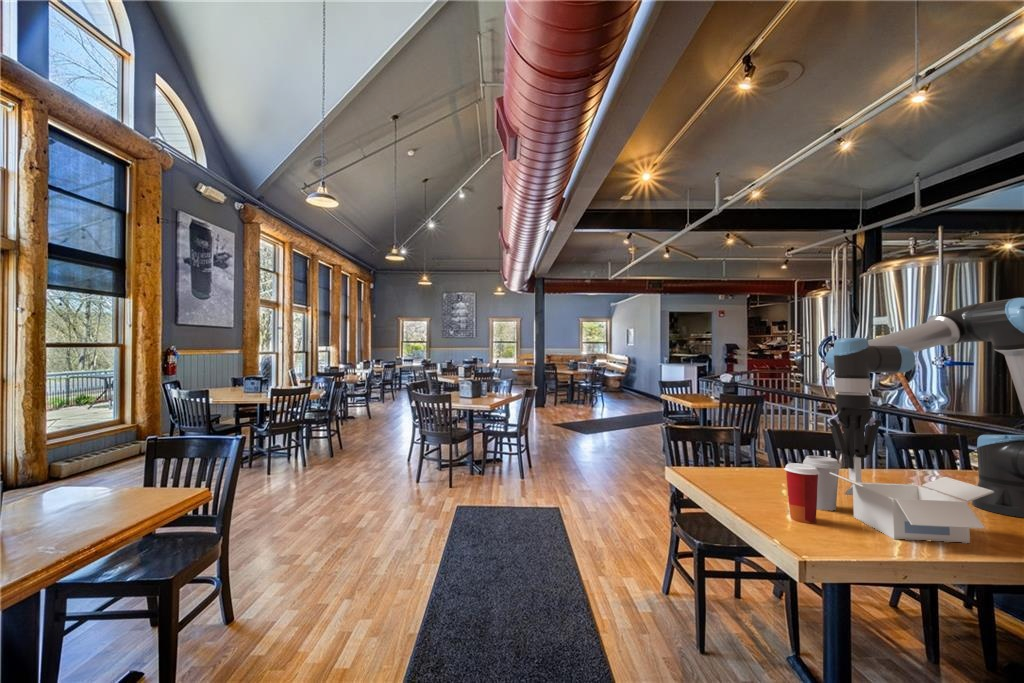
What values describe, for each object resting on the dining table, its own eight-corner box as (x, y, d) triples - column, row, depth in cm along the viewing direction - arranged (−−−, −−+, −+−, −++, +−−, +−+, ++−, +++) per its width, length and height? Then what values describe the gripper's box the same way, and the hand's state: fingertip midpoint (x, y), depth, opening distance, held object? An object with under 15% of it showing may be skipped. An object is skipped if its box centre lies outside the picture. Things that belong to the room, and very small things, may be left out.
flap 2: (921, 485, 119) (922, 486, 119) (967, 500, 105) (968, 502, 105) (944, 476, 118) (945, 477, 118) (993, 490, 105) (994, 492, 105)
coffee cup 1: (817, 517, 121) (815, 464, 122) (824, 526, 114) (822, 470, 115) (782, 512, 125) (781, 461, 126) (787, 521, 118) (786, 467, 118)
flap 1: (830, 472, 122) (829, 473, 122) (863, 485, 108) (862, 486, 108) (852, 482, 121) (852, 483, 121) (888, 496, 108) (888, 498, 108)
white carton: (905, 515, 124) (904, 480, 124) (989, 552, 99) (987, 508, 100) (842, 512, 126) (841, 477, 126) (909, 547, 101) (908, 504, 102)
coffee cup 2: (832, 503, 133) (830, 456, 134) (849, 514, 124) (847, 462, 125) (798, 501, 136) (797, 454, 136) (812, 511, 126) (810, 460, 127)
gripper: (868, 393, 119) (871, 478, 118) (818, 392, 121) (821, 476, 119) (888, 395, 112) (892, 485, 110) (835, 394, 113) (838, 483, 112)
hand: (855, 480), depth 115 cm, fingers closed
